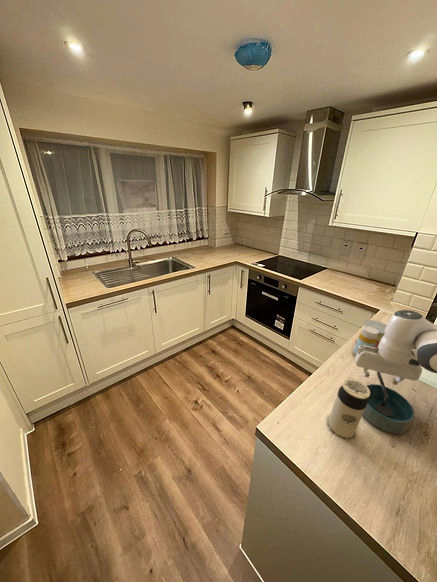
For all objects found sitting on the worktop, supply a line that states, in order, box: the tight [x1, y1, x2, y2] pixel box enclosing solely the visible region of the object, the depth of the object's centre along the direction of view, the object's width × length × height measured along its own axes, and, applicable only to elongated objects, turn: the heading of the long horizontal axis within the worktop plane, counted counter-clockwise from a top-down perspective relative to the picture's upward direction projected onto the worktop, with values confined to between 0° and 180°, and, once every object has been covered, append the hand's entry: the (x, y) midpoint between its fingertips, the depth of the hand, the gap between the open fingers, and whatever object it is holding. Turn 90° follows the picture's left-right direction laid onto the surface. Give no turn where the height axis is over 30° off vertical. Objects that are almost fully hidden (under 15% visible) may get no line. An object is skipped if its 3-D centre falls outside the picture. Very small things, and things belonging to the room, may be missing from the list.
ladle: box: [374, 371, 393, 419], centre depth 86 cm, size 5×17×7 cm, turn 160°
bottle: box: [352, 326, 379, 357], centre depth 108 cm, size 7×7×15 cm
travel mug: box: [327, 377, 370, 439], centre depth 74 cm, size 8×8×18 cm
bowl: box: [362, 383, 416, 434], centre depth 82 cm, size 15×15×6 cm
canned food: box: [360, 319, 387, 348], centre depth 115 cm, size 11×11×12 cm
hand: (379, 379), depth 90 cm, fingers open, 8 cm apart
